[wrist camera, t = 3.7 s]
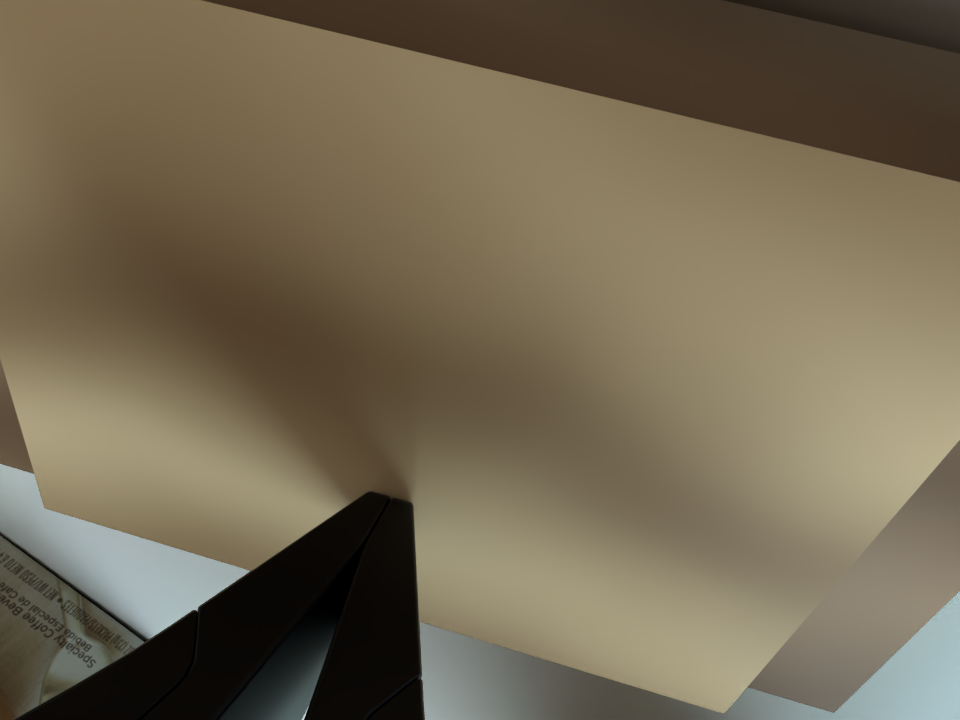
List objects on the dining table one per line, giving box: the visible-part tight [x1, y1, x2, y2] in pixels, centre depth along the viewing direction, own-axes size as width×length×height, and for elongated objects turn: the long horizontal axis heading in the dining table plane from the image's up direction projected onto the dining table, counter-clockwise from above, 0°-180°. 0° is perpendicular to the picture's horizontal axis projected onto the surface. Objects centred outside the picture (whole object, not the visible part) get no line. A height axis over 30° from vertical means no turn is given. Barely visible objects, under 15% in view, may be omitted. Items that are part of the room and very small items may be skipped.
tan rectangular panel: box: [0, 0, 960, 714], centre depth 9 cm, size 10×15×2 cm, turn 78°
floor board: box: [0, 0, 960, 713], centre depth 8 cm, size 16×22×3 cm
